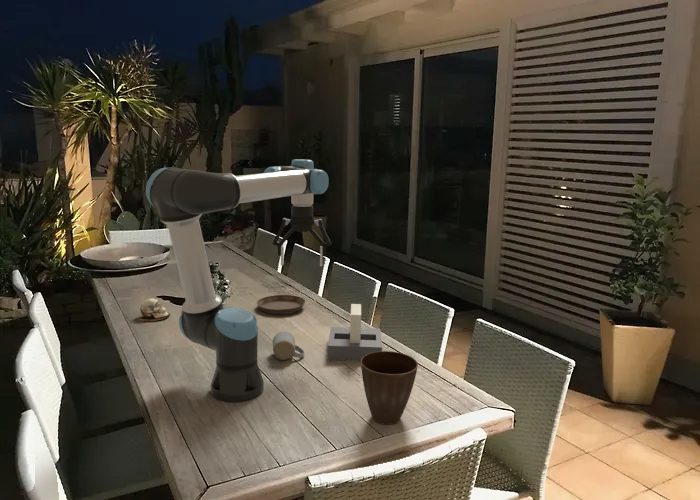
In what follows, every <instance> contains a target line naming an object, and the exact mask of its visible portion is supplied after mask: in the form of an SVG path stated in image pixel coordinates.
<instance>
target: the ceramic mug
mask: <svg viewBox="0 0 700 500" xmlns="http://www.w3.org/2000/svg"><path fill="white" fill-rule="evenodd" d="M272 350H273V354H274V356H275V358H277V359H278V360H280V361H287V360H290V359H291V358H292V357H295V358H297V359H298V358H299V359H301V358H303V357H304V355H305V350H304V349H303V348H302V347H300V346H298V345H296V339H295V337H294V335H293V334H292V333H290V332H288V331H279V332H277V333H276V334H275V335H273V339H272Z"/></svg>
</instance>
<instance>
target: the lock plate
mask: <svg viewBox="0 0 700 500" xmlns="http://www.w3.org/2000/svg"><path fill="white" fill-rule="evenodd" d="M381 333H382V332H381V328H379V327H378V328H377V327H375V328H374V327H370V328H369V327H361V336H360V343H350V327H347V326H346V327H344V326H341V327H340V326H330V329H329V336H328V343H327V361H351V362H352V361H354V362H355V361H357V362H361V359H362V357H363V356H365V355H367V354H369V353H372V352H378V351H383V343H382V334H381Z"/></svg>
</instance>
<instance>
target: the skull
mask: <svg viewBox="0 0 700 500" xmlns="http://www.w3.org/2000/svg"><path fill="white" fill-rule="evenodd" d="M140 313H141V316H142V317H140V318H139V319H138V321H141V322H155V321H160V320H164V319H166V318H168V317H169V316H170V315H171V313H169V312H168V311H167V309H166V307H165V306H163V305H162V303H160V302H159V300H158V299H156V298H148V299H146V300H145V301H143V303H141V305H140Z"/></svg>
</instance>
